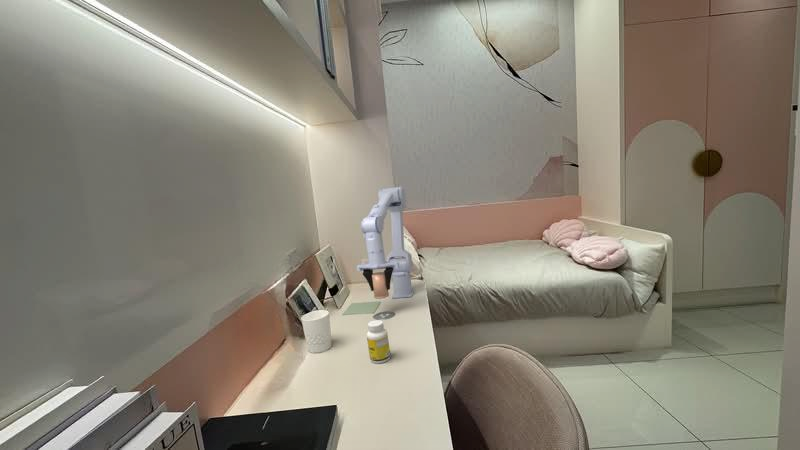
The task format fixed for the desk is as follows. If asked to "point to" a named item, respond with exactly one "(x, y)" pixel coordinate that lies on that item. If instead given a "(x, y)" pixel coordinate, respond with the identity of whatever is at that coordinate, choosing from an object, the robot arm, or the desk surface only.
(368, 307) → the mat
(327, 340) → the white cup
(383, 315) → the coaster
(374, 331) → the supplement bottle
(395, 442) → the desk surface
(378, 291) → the terracotta cup
